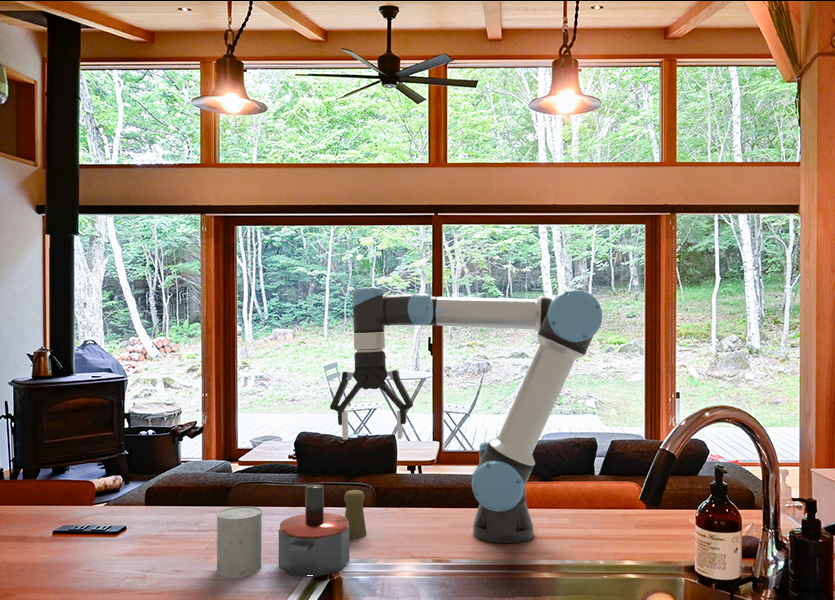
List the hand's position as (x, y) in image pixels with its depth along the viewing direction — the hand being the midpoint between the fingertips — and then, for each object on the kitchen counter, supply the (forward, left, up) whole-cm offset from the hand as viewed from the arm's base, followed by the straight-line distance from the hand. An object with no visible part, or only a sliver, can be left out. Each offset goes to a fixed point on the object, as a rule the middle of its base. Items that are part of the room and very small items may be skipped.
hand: (372, 438), depth 159 cm
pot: (+10, +15, -26) cm, 31 cm away
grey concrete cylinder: (+25, +21, -26) cm, 41 cm away
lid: (+10, +15, -20) cm, 26 cm away
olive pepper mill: (+7, -6, -26) cm, 27 cm away
